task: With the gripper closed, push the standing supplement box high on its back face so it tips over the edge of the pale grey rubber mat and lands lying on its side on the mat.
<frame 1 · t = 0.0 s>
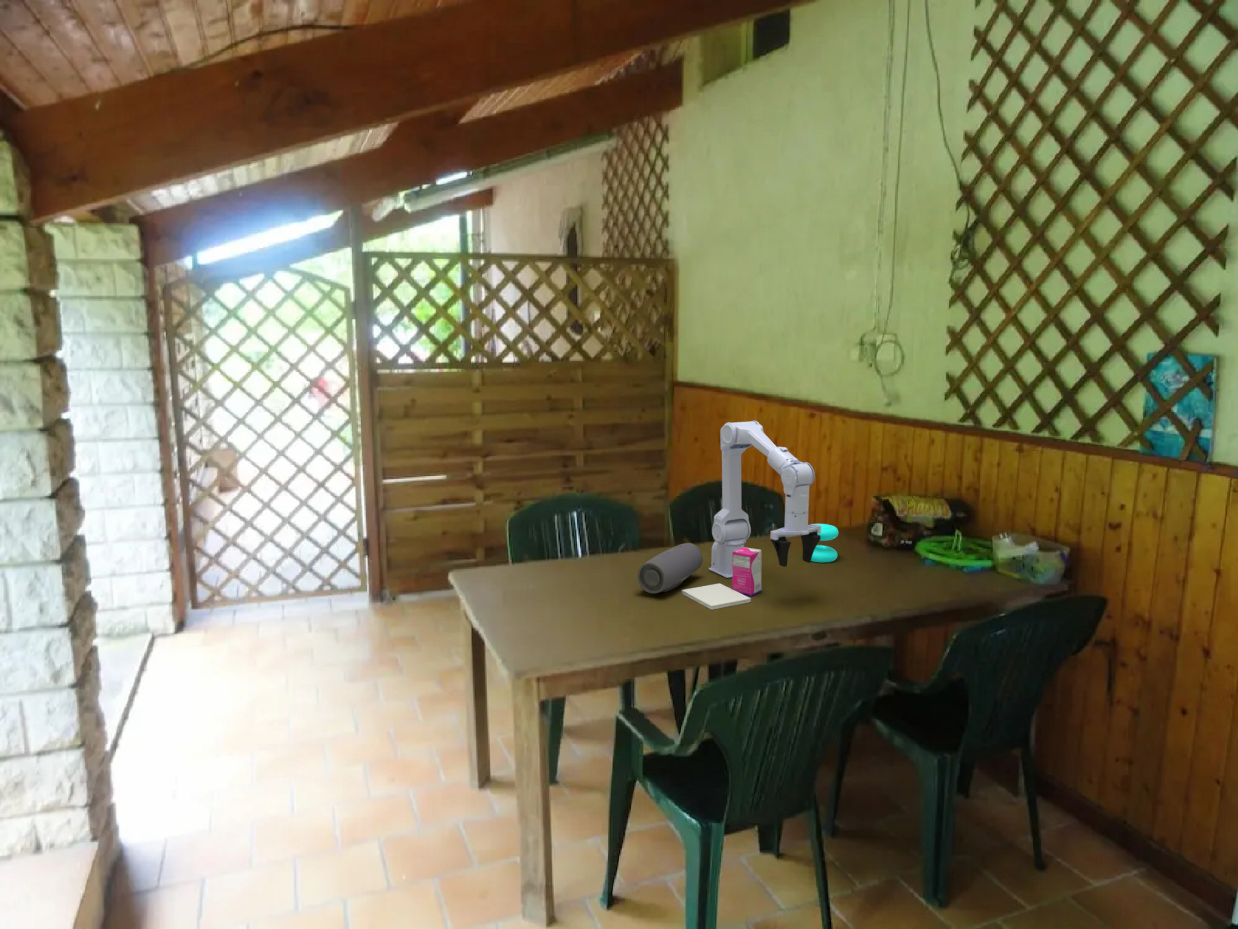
hand: (795, 563, 209), 10 cm above the table, fingers open, 7 cm apart
supplement box: (746, 593, 218), on the table
bluetooth speaker: (670, 586, 224), on the table
mat: (715, 597, 214), on the table
donuts: (820, 559, 248), on the table
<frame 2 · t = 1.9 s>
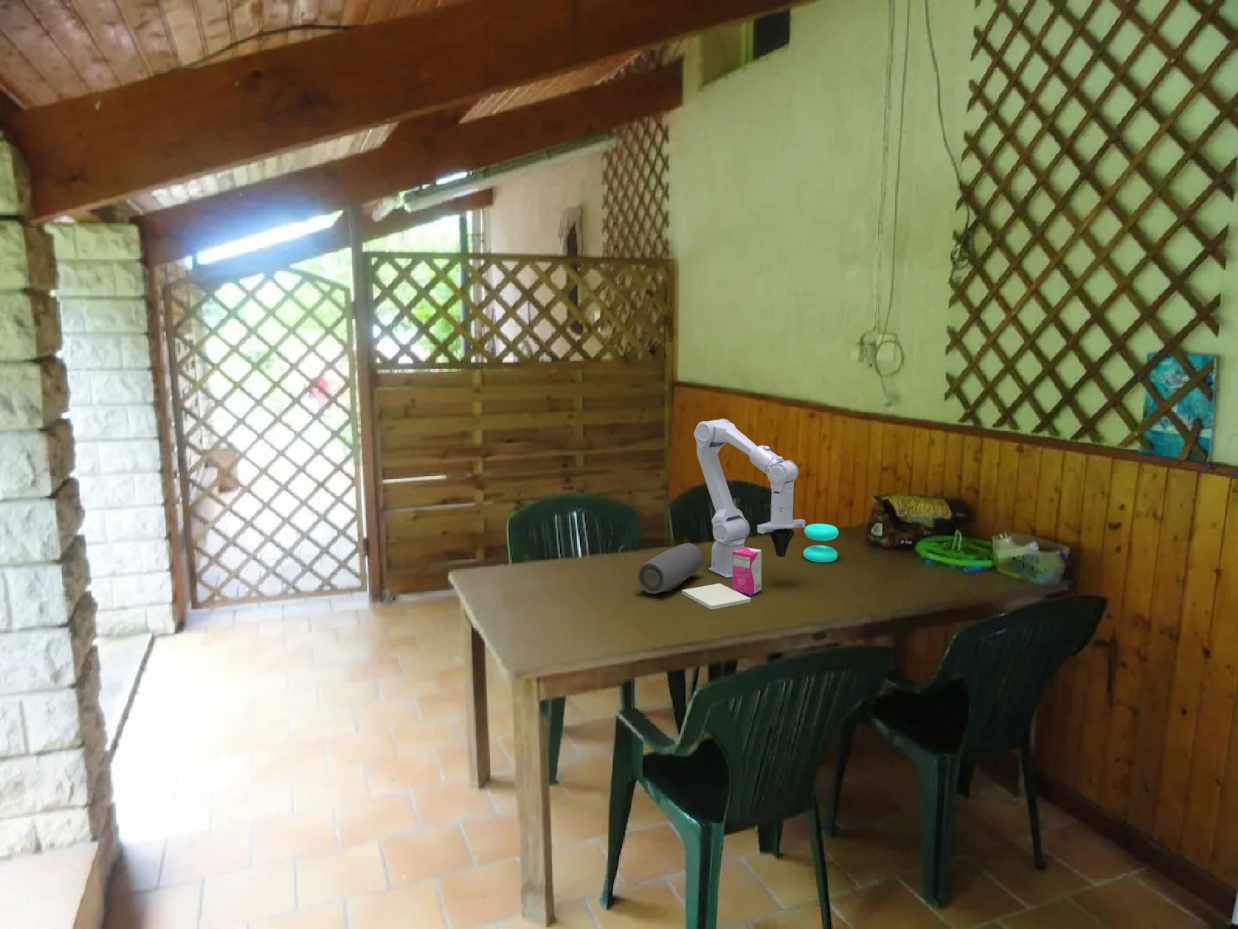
hand: (780, 556, 222), 8 cm above the table, fingers closed
nothing on the table moved.
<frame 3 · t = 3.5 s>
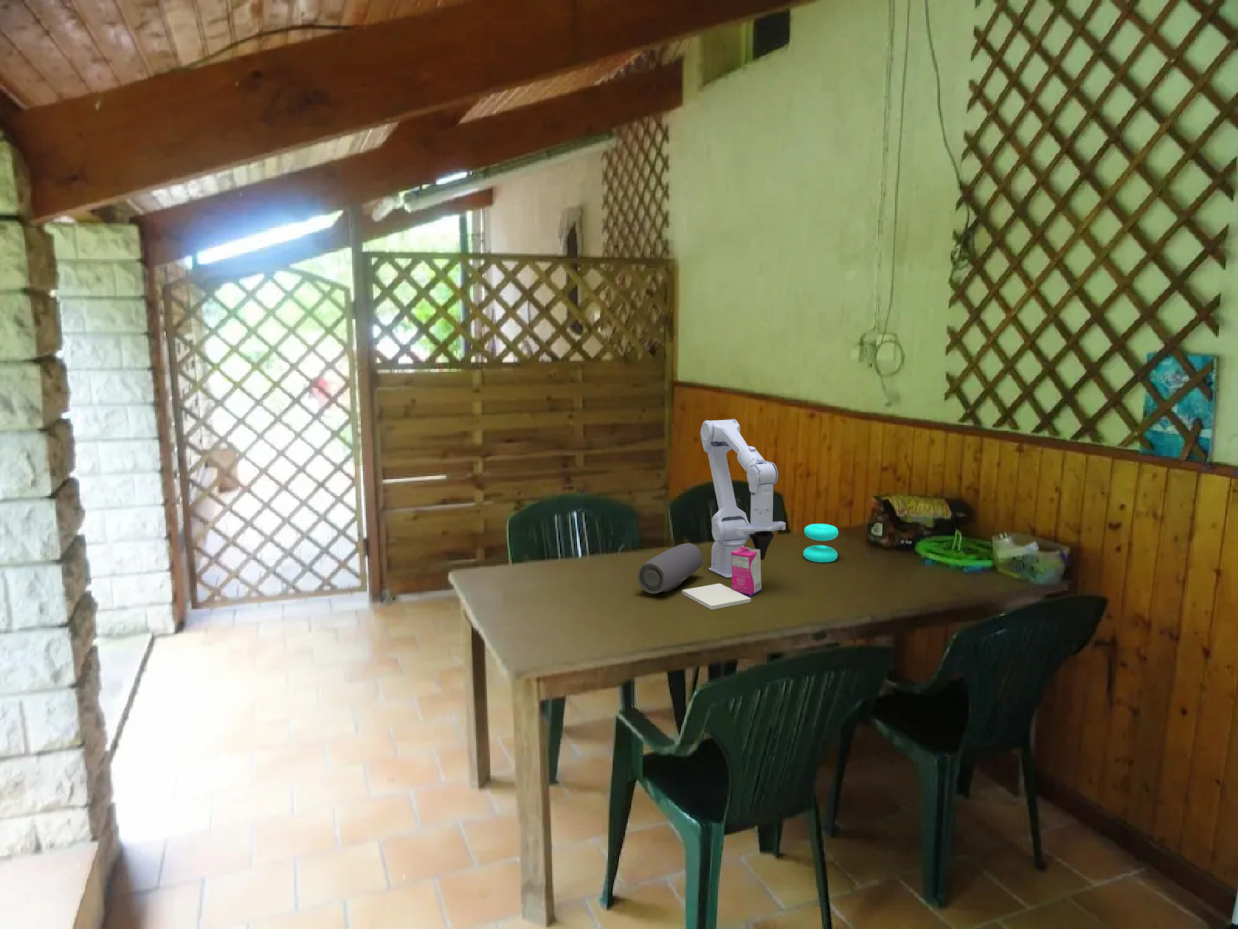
hand: (760, 559, 218), 9 cm above the table, fingers closed
supplement box: (746, 592, 218), on the table, touching gripper
everything else where it was.
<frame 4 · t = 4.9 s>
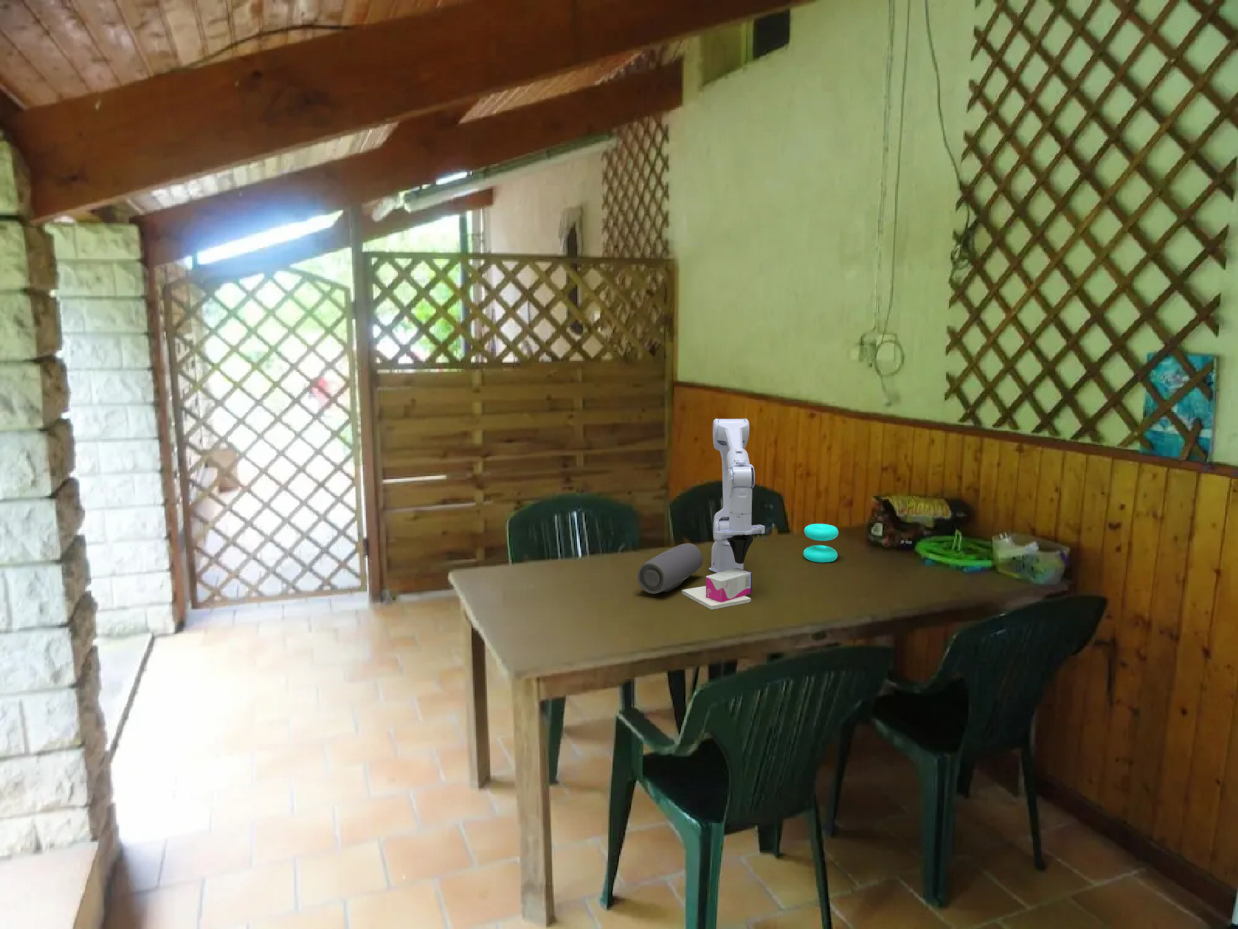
hand: (739, 562, 216), 8 cm above the table, fingers closed
supplement box: (744, 580, 216), point 4 cm above the table, touching mat
everything else where it was.
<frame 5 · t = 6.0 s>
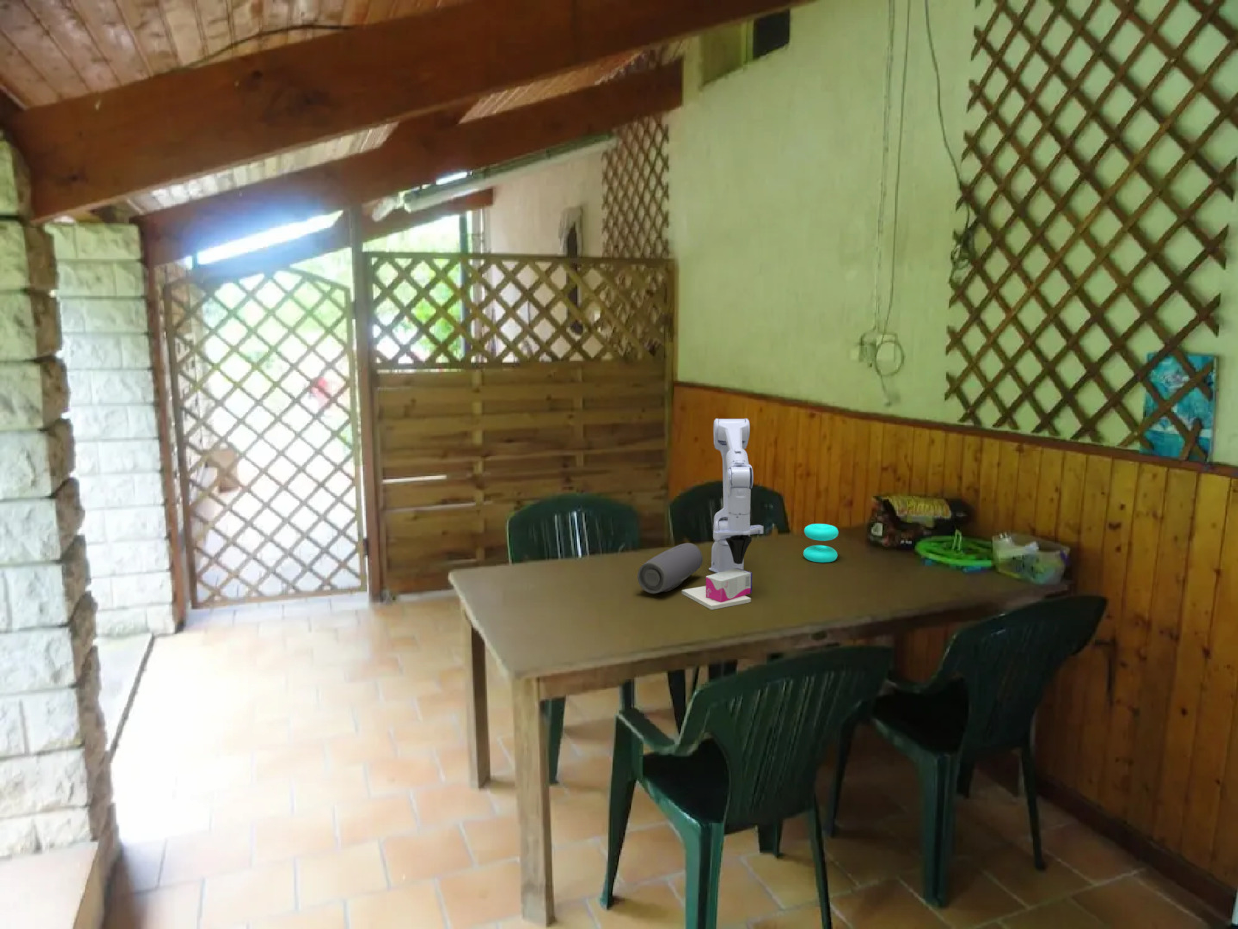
hand: (737, 563, 215), 8 cm above the table, fingers closed
nothing on the table moved.
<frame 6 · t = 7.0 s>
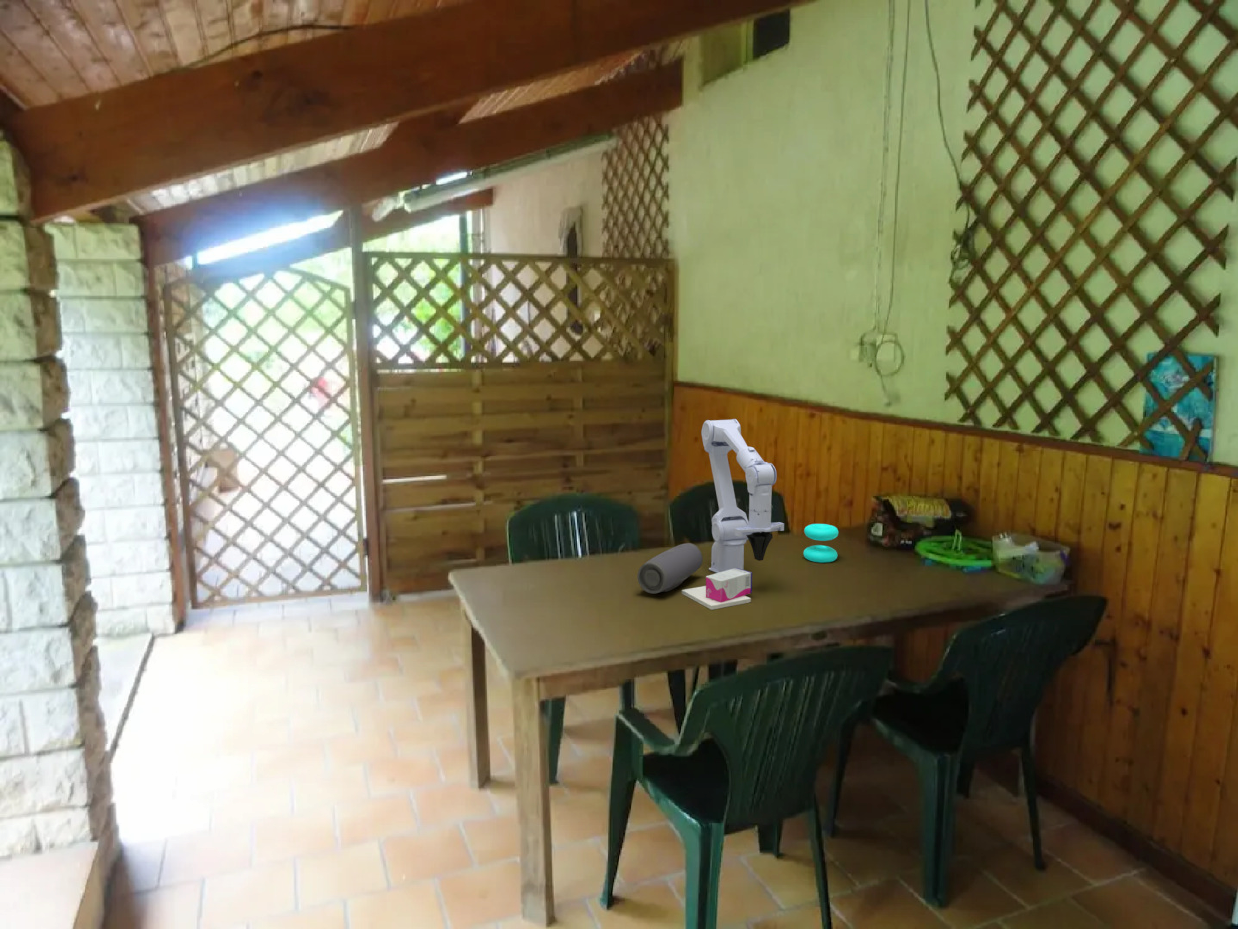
hand: (758, 559, 218), 8 cm above the table, fingers closed
nothing on the table moved.
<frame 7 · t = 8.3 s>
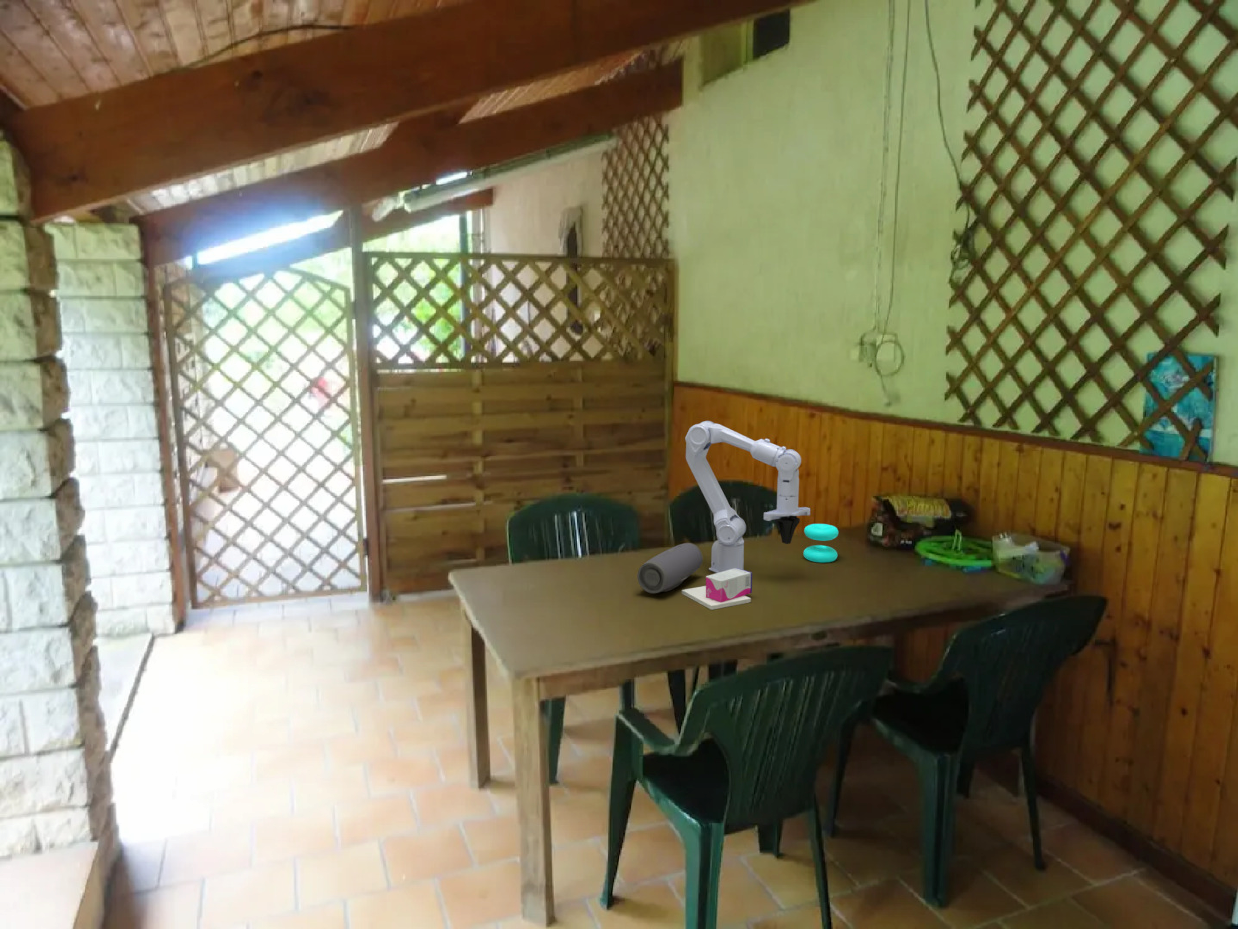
hand: (786, 543, 227), 10 cm above the table, fingers closed
nothing on the table moved.
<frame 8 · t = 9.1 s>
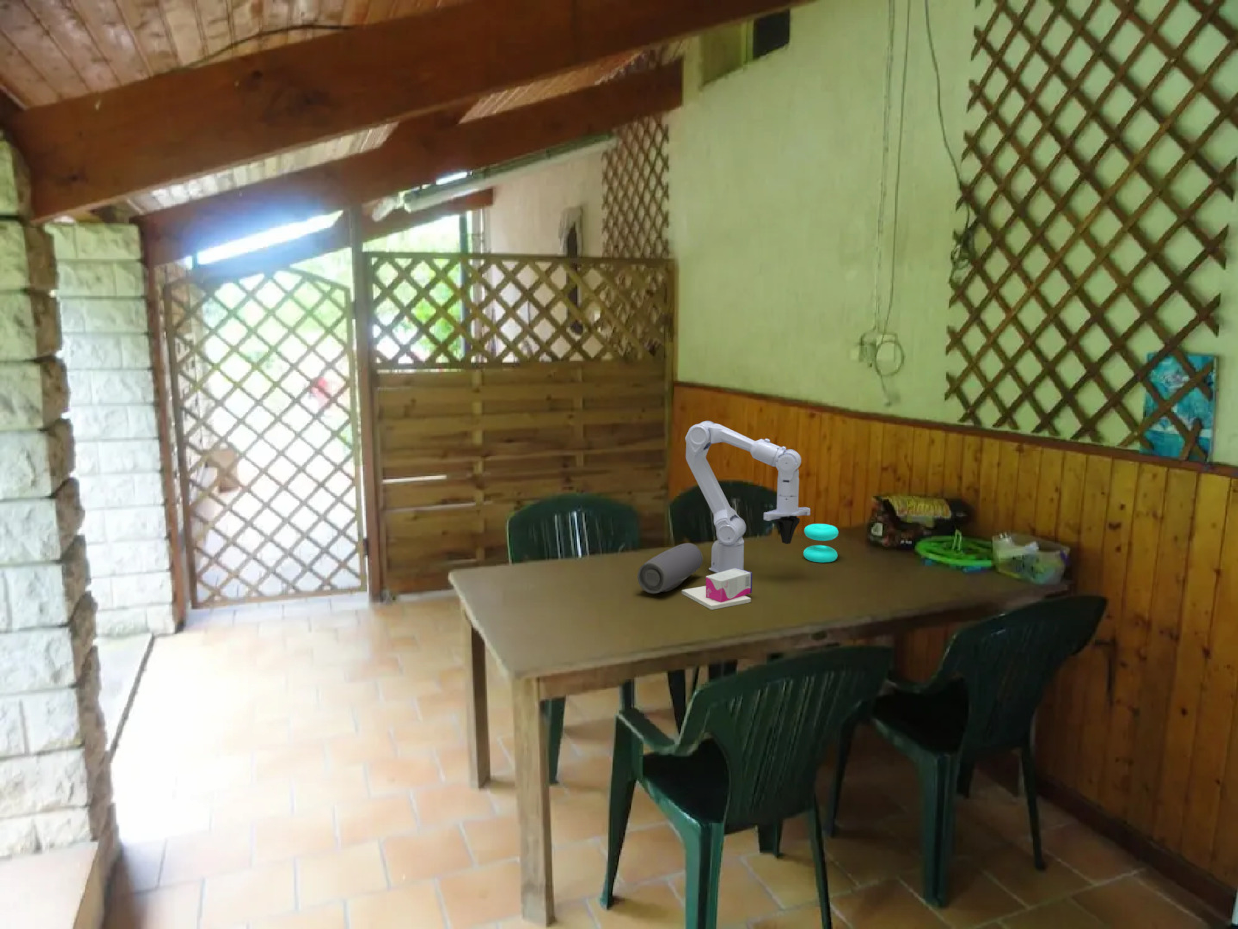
hand: (786, 543, 227), 10 cm above the table, fingers closed
nothing on the table moved.
at the end: supplement box tilted 90°; supplement box inside the target area (7.5 cm from its centre), point 3.8 cm above the table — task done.
